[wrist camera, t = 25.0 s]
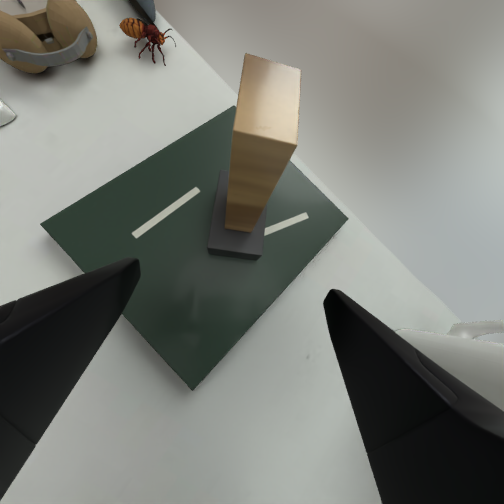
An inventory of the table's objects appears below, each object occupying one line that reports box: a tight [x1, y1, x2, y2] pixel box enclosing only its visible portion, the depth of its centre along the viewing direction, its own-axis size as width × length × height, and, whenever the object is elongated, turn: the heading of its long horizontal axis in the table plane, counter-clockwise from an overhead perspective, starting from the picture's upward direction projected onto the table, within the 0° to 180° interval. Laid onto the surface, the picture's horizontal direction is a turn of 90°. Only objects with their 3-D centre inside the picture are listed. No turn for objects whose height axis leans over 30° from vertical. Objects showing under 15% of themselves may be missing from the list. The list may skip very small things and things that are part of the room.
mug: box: [395, 320, 504, 411], centre depth 16 cm, size 10×7×12 cm, turn 133°
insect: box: [119, 0, 176, 66], centre depth 23 cm, size 4×6×5 cm
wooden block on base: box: [207, 53, 301, 260], centre depth 14 cm, size 8×5×13 cm, turn 174°
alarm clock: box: [0, 0, 97, 73], centre depth 21 cm, size 11×5×15 cm
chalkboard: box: [40, 106, 348, 391], centre depth 20 cm, size 24×20×2 cm
